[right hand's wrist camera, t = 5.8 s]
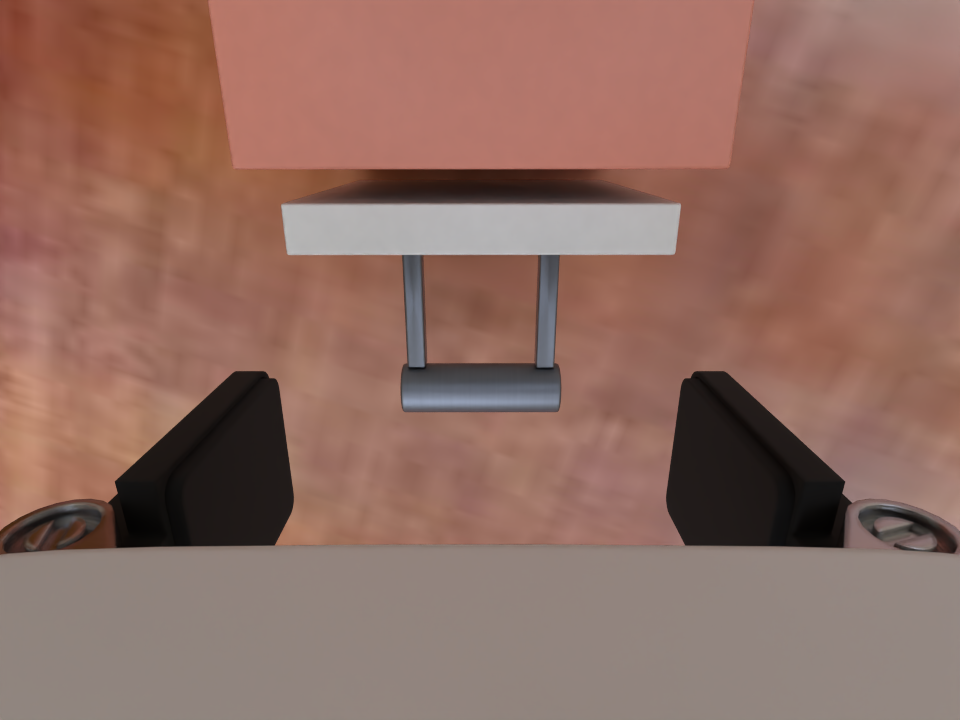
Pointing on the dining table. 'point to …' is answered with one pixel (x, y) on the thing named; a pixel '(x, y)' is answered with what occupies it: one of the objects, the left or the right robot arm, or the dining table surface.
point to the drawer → (481, 231)
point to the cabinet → (481, 83)
